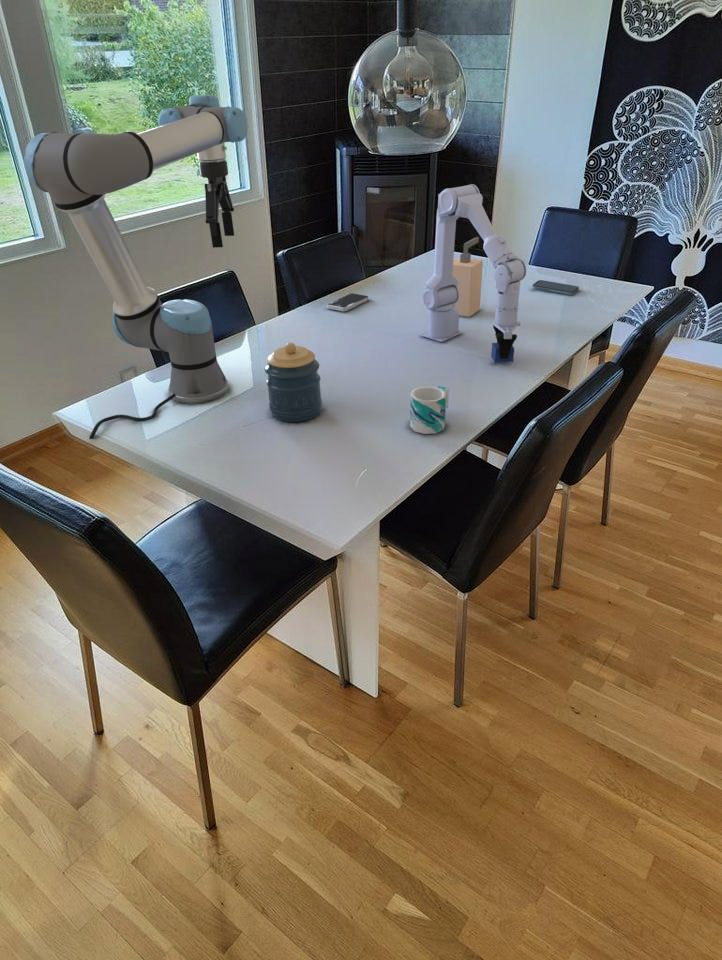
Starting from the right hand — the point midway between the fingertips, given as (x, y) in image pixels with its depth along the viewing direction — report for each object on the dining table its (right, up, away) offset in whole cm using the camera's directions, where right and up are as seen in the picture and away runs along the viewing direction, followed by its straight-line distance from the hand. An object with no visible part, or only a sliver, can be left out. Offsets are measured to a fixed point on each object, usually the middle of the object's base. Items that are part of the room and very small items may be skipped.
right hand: (502, 354), depth 186 cm
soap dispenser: (-4, +22, +39) cm, 45 cm away
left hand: (-79, +34, +7) cm, 86 cm away
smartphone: (-44, +26, +48) cm, 70 cm away
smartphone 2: (+30, +33, +53) cm, 69 cm away
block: (0, -1, +1) cm, 1 cm away
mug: (-23, -21, -27) cm, 41 cm away
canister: (-55, -18, -20) cm, 62 cm away
